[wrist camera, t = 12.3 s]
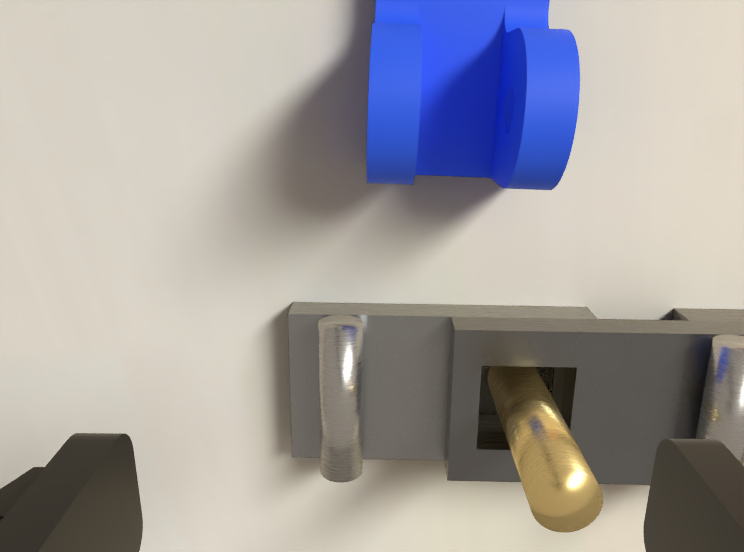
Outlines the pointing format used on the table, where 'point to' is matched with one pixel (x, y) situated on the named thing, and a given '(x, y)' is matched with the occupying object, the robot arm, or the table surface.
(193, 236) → the table surface
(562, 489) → the pin
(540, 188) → the bracket
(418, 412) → the grey plate with pins
